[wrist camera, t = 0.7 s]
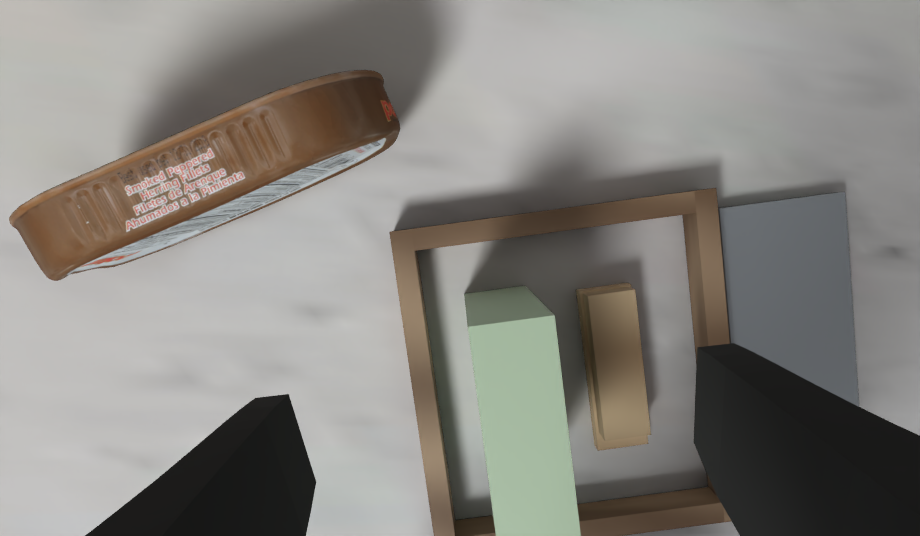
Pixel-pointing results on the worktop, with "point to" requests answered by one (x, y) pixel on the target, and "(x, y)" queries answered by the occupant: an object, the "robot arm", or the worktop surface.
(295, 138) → the tin
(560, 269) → the worktop surface
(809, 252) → the slate mat
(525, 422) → the board
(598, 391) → the offcut stack
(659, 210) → the brown flat square frame
